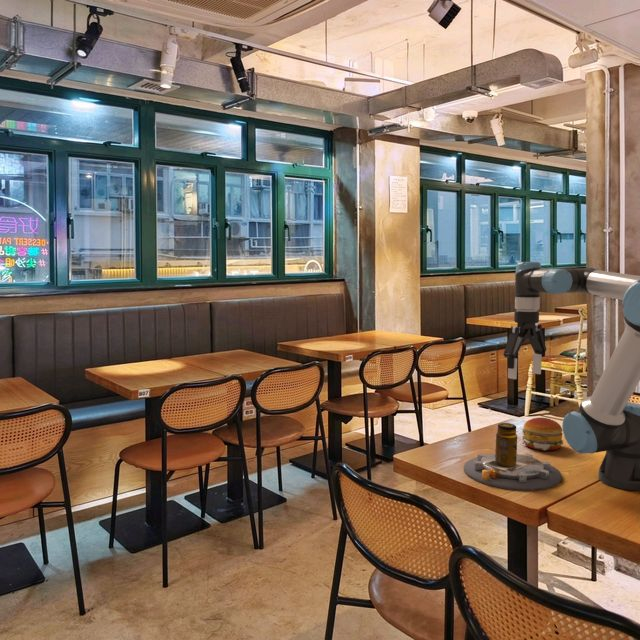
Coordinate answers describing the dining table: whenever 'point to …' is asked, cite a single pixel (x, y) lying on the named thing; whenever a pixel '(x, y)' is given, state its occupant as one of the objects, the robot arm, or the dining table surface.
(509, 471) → the grey disc with blocks
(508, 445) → the condiment
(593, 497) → the dining table surface
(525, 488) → the base
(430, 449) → the dining table surface
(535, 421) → the burger
